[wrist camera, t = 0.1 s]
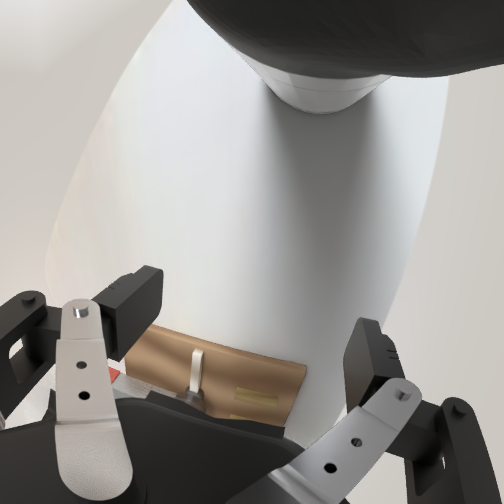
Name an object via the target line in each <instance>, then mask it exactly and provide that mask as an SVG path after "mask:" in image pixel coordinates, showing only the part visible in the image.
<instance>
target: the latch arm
mask: <svg viewBox="0 0 504 504" xmlns="http://www.w3.org/2000/svg"><path fill="white" fill-rule="evenodd" d="M108 368H109V374H110V379H111V385H112V390H113V395H114V399H118V398H126V397H137V398H146V397H147V395H148V393H149V392H150V390H152V391H155V392H158V393H161V394H164V395H166V396H169V397H172V398H175V399H178V400H181V401H183V402H185V403H187V404H189V405H190V406H192V407H194V408H196V409H198V410H200V411H202V412H203V413H205V414H206V411H207V408H206V405H205V404H204V402H203V401H202V400H200V399H199V398H198V397H196V396H194V395H191V394H188V393H174V392H171V391H168V390H165V389H162V388H160V387H157V386H154V385H151V384H149V383H146V382H143V381H141V380H138V379H135V378H133V377H130V376H128V375H125V374H122V373H120V371H118V370H116V369H113V368H111V367H108Z"/></svg>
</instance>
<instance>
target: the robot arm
mask: <svg viewBox="0 0 504 504" xmlns="http://www.w3.org/2000/svg"><path fill="white" fill-rule="evenodd" d="M187 1H188V3H189V4H190V5H191V6H192V8H193V9H194V10H195V11H196V13H197V14H198V15H199V16H200V17H201V18H202V19H203V20H204V21H205V22H206V23H207V24H208V25H209V26H210V27H211V28H212V29H213V30H214V31H215V32H216V33H217V34H218V35H219V36H220V37H221V38H222V39H223V40H225V41H226V42H227V43H228V44H229V45H230V46H231V47H232V48H233V49H234V50H235V51H236V52H237V53H238V54H239V55H240V56H241V57H242V58H243V59H244V60H245V61H246V62H247V63H248V64H249V66H250V67H251V68H252V69H253V70H254V71H255V72H256V73H257V74H258V75H259V76H260V77H261V78H262V79H263V81H264V82H265V83H266V84H267V85H268V86H269V87H270V88H271V89H272V90H273V92H274V93H275V94H276V95H277V96H278V97H279V98H280V99H281V100H282V101H284V102H285V103H286V104H288V105H290V106H292V107H294V108H295V109H297V110H301V111H304V112H307V113H314V114H329V113H334V112H337V111H341V110H343V109H345V108H347V107H349V106H351V105H352V104H354V103H355V102H356V101H358V100H359V99H361V98H362V97H364V96H365V95H366V94H368V93H369V92H370V91H372V90H373V89H375V88H376V87H377V86H379V85H380V84H382V83H383V82H384V81H386V80H387V79H389V78H390V77H391V76H399V77H414V78H428V77H441V76H448V75H453V74H459V73H463V72H467V71H471V70H475V69H480V68H485V67H490V66H495V65H501V64H504V0H187ZM162 292H163V270H162V269H158V268H154V267H151V266H147V265H144V266H143V267H142V268H140V269H139V270H138V271H137V272H135V273H134V274H133V273H130V274H127V275H124V276H121V277H120V278H118V279H117V280H116V281H114V283H112V284H111V285H109V286H108V288H105V289H104V290H103V291H102V292H100V293H99V294H98V295H96V296H95V297H94V298H93V299H91V300H88V299H75V300H72V301H69V302H67V303H66V304H65V305H64V306H63V308H57V307H51V306H47V305H46V298H45V295H43V294H42V293H41V292H38V291H25V292H21V293H19V294H17V295H16V296H14V297H13V298H12V299H10V300H9V301H7V302H6V303H5V304H3V305H2V306H0V504H350V503H349V502H348V501H347V500H346V498H345V497H346V496H347V494H348V493H349V492H350V491H351V490H352V489H353V488H354V487H355V486H356V485H357V484H358V483H359V482H360V480H361V479H362V478H363V477H364V476H365V475H366V474H367V473H368V471H369V470H370V469H371V468H372V467H373V465H374V464H375V463H376V462H377V461H378V459H379V458H380V457H381V456H382V454H383V453H384V452H388V453H391V454H393V455H396V456H399V457H402V458H404V463H405V475H406V487H407V503H408V504H502V502H501V498H500V493H499V489H498V485H497V482H496V478H495V474H494V470H493V467H492V464H491V460H490V457H489V454H488V451H487V447H486V444H485V441H484V438H483V435H482V432H481V429H480V426H479V424H478V421H477V418H476V416H475V413H474V410H473V409H472V407H471V406H470V405H469V404H468V403H467V402H465V401H464V400H462V399H459V398H456V397H450V398H447V399H445V400H444V402H443V403H442V405H441V406H438V405H435V404H432V403H429V402H426V401H424V400H422V394H421V392H420V390H419V388H418V387H417V386H416V385H415V384H413V383H412V382H410V381H408V380H406V379H405V376H404V372H403V369H402V366H401V363H400V360H399V357H398V354H397V353H396V352H397V351H396V348H395V345H394V343H393V341H392V340H391V339H390V338H389V337H388V336H387V335H384V334H382V333H381V329H380V326H379V323H378V321H376V320H371V319H366V318H361V317H360V318H359V319H358V320H357V322H356V325H355V327H354V330H353V333H352V335H351V338H350V340H349V343H348V345H347V347H346V350H345V354H344V359H343V367H344V378H345V390H346V404H347V415H346V416H345V417H344V418H343V419H342V420H341V421H340V422H339V423H337V424H336V425H335V426H334V427H333V428H332V429H330V430H329V431H328V432H327V433H326V434H325V435H323V436H322V437H321V438H320V439H319V440H317V441H316V442H315V443H314V444H313V445H311V446H310V447H309V448H308V449H306V450H305V449H304V448H302V447H301V446H299V445H298V444H296V443H294V442H293V441H291V440H289V439H287V438H284V437H283V436H284V429H285V427H280V426H275V425H271V424H266V423H262V422H257V421H253V420H240V419H224V418H214V417H211V416H209V415H207V414H205V413H203V412H202V411H200V410H198V409H196V408H194V407H192V406H190V405H189V404H187V403H185V402H183V401H181V400H178V399H175V398H172V397H169V396H166V395H164V394H161V393H158V392H155V391H152V390H150V392H149V393H148V395H147V397H146V398H137V397H126V398H118V399H114V395H113V390H112V385H111V379H110V374H109V368H108V362H107V359H108V358H110V359H112V360H115V361H117V362H120V361H121V360H122V358H123V357H124V356H125V355H126V354H127V352H128V351H129V350H130V349H131V348H132V346H133V345H134V344H135V343H136V342H137V340H138V339H139V338H140V337H141V336H142V334H143V333H144V332H145V331H146V330H147V329H148V327H149V326H150V325H151V324H152V323H153V321H154V320H155V319H156V318H157V317H158V315H159V313H160V310H161V306H162ZM20 338H21V340H22V344H23V347H22V348H21V349H20V350H19V351H18V352H17V353H16V354H15V355H14V356H13V357H12V358H11V359H9V351H10V348H11V347H12V345H13V344H15V343H16V342H17V341H18V340H19V339H20ZM54 364H56V412H57V416H56V417H53V418H49V419H45V420H41V421H38V422H34V423H30V424H26V425H22V426H18V427H13V428H9V429H5V420H6V419H7V417H8V416H9V415H10V414H11V413H12V412H13V410H14V409H15V408H16V407H17V406H18V405H19V403H20V402H21V401H22V400H23V399H24V398H25V396H26V395H27V394H28V393H29V392H30V391H31V390H32V388H33V387H34V386H35V385H36V384H37V383H38V382H39V380H40V379H41V378H42V377H43V376H44V375H45V374H46V373H47V372H48V370H49V369H50V368H51V367H52V366H53V365H54ZM443 457H444V461H445V469H444V465H443V460H442V458H443Z"/></svg>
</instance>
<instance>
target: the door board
mask: <svg viewBox="0 0 504 504" xmlns="http://www.w3.org/2000/svg"><path fill="white" fill-rule="evenodd" d="M124 357H125V367H126V375H128V376H130V377H133V378H135V379H138V380H141V381H143V382H146V383H149V384H151V385H154V386H157V387H160V388H162V389H165V390H168V391H171V392H174V393H188V394H191V395H194V396H196V397H198V398H199V399H200V400H202V401H203V402H204V404H205V405H206V408H207V411H206V414H207V415H209V416H211V417H214V418H224V419H240V420H253V421H257V422H262V423H266V424H271V425H275V426H280V427H283V426H284V424H285V421H286V419H287V417H288V414H289V412H290V410H291V408H292V405H293V403H294V400H295V398H296V396H297V393H298V391H299V388H300V386H301V384H302V381H303V379H304V376H305V374H306V365H301V364H296V363H292V362H287V361H283V360H278V359H274V358H270V357H266V356H262V355H258V354H253V353H249V352H246V351H242V350H238V349H234V348H230V347H227V346H223V345H219V344H216V343H212V342H209V341H205V340H202V339H198V338H195V337H191V336H188V335H185V334H181V333H178V332H175V331H172V330H169V329H165V328H162V327H159V326H156V325H153V324H151V325H150V326H149V327H148V329H147V330H146V331H145V332H144V333H143V334H142V336H141V337H140V338H139V339H138V340H137V342H136V343H135V344H134V345H133V346H132V348H131V349H130V350H129V351H128V352H127V354H126V355H125V356H124Z"/></svg>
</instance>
